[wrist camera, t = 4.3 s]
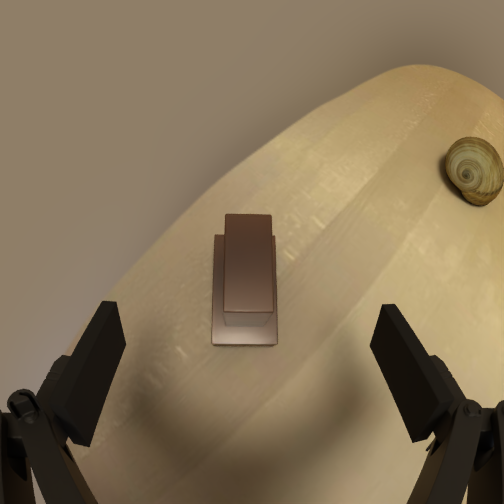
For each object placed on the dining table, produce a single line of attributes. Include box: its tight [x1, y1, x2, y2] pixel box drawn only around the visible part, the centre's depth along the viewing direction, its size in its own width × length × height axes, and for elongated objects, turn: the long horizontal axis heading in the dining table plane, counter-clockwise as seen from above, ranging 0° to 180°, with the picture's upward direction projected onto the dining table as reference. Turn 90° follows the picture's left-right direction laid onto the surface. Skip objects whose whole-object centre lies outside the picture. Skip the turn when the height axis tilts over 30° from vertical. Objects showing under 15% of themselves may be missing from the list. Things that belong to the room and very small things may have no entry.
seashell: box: [445, 137, 504, 206], centre depth 29 cm, size 10×7×8 cm
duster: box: [212, 214, 278, 346], centre depth 21 cm, size 8×4×8 cm, turn 0°
